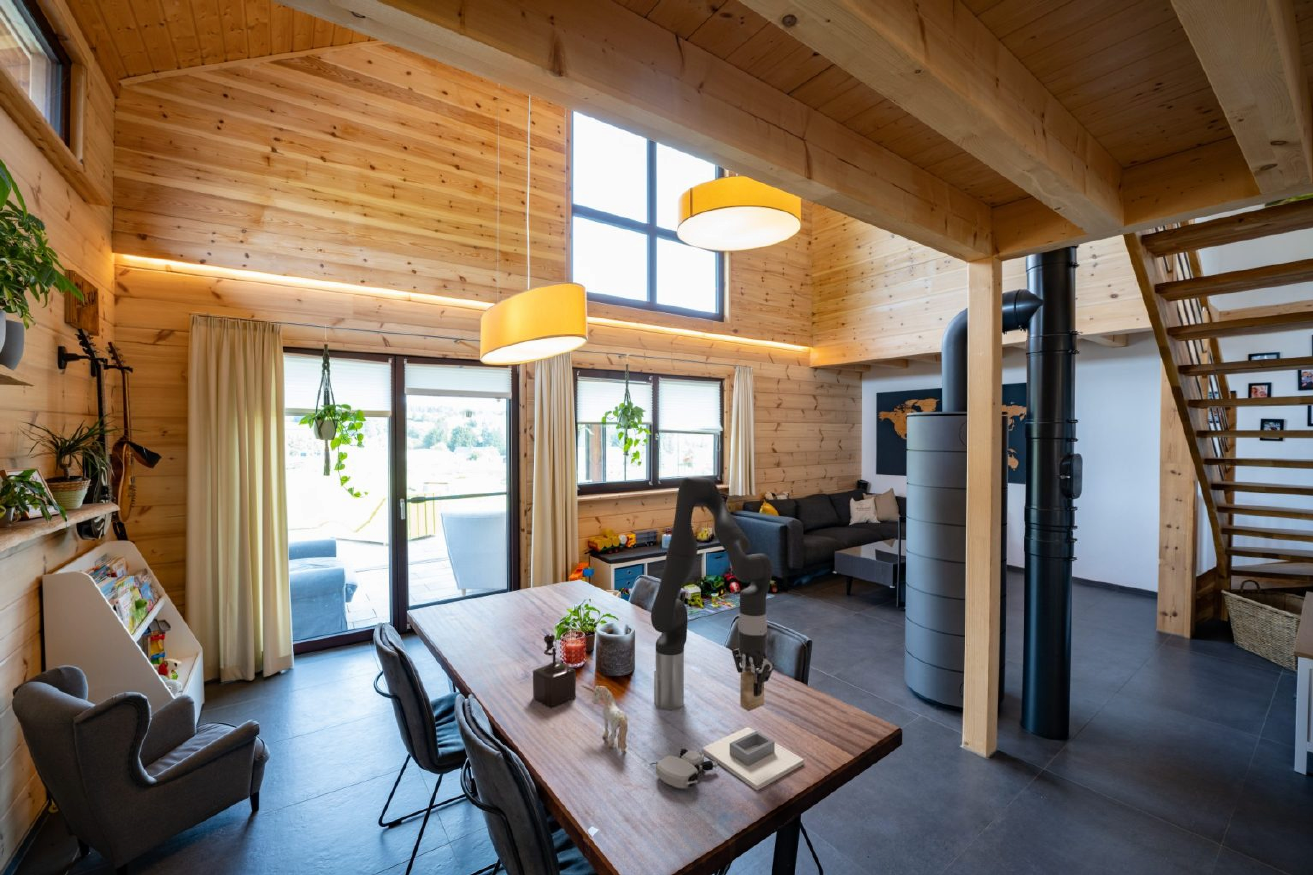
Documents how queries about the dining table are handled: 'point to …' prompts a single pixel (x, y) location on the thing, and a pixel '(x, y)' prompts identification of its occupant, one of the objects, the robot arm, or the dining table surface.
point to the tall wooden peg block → (749, 692)
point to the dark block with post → (554, 680)
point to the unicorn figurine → (611, 716)
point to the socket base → (753, 757)
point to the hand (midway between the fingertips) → (752, 692)
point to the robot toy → (682, 768)
